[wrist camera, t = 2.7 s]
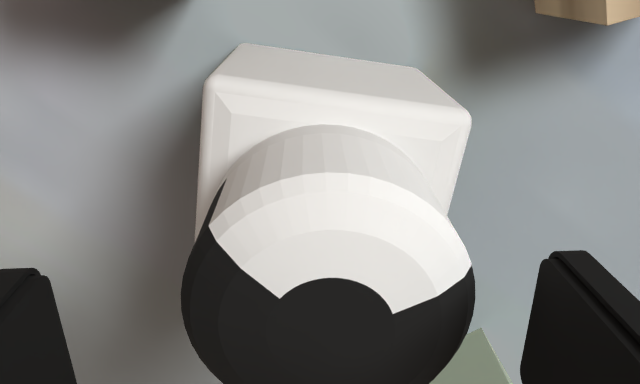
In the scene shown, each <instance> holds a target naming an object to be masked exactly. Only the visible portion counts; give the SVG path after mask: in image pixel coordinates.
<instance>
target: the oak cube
mask: <svg viewBox="0 0 640 384" xmlns="http://www.w3.org/2000/svg"><path fill="white" fill-rule="evenodd" d="M534 1H535V10H536V13H538V14H543V15H549V16H555V17H561V18H567V19H572V20H578V21H584V22H590V23H596V24H601V25H611V24H615V23H618V22H622V21H625V20H629V19H632V18H636V17H640V0H534Z"/></svg>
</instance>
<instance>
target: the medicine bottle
mask: <svg viewBox="0 0 640 384" xmlns="http://www.w3.org/2000/svg"><path fill="white" fill-rule="evenodd" d="M470 129H471V116H470V114H469V113H468V111H467V110H466V109H465V108H463V107H462V106H461V105H460V104H459V103H457V102H456V101H455V100H454V99H453V98H452V97H450V96H449V95H448V94H447V93H446V92H444V91H443V90H442V89H441V88H440V87H438V86H437V85H436V84H435V83H434V82H433V81H431V80H430V79H429V78H428V77H427V76H425V75H424V74H423V73H422V72H421V71H420V70H418V69H416V68H414V67H407V66H400V65H393V64H386V63H380V62H373V61H366V60H359V59H352V58H345V57H338V56H332V55H325V54H318V53H311V52H304V51H297V50H290V49H284V48H277V47H270V46H263V45H256V44H249V43H242V44H240V45H239V46H237V47H236V48H235V49H234V50H233V51H232V52H231V54H230V55H229V56H228V57H227V58H226V59H225V60H224V61H223V62H222V63H221V64H220V65H219V66H218V67H217V68H216V69H215V70H214V71H213V72H212V73H211V75H210V76H209V77H208V78H207V79H206V80H205V83H204V86H203V98H202V116H201V135H200V153H199V171H198V189H197V208H196V226H195V244H194V247H193V249H192V252H191V254H190V256H189V259H188V262H187V265H186V269H185V272H184V275H183V281H182V289H181V309H182V315H183V320H184V325H185V329H186V331H187V334H188V336H189V339H190V341H191V344H192V345H193V347H194V349H195V351H196V352H197V354H198V356H199V358H200V359H201V360H202V361H203V363H204V364H205V365H206V366H207V368H208V369H209V370H210V371H211V372H212V373H213V374H214V375H215V376H216V377H217V378H218V379H219V380H220V381H221V382H222V383H223V384H429V383H430V382H431V381H433V380H434V379H435V378H436V376H437V375H438V374H439V373H440V372H441V371H442V370H443V369H444V368H445V367H446V365H447V364H448V363H449V362H450V361H451V359H452V358H453V356H454V355H455V353H456V352H457V351H458V349H459V348H460V346H461V344H462V342H463V340H464V338H465V336H466V334H467V332H468V329H469V326H470V322H471V319H472V316H473V310H474V304H475V280H474V274H473V269H472V264H471V261H470V259H469V256H468V253H467V251H466V248H465V246H464V244H463V243H462V241H461V239H460V237H459V236H458V234H457V232H456V231H455V229H454V227H453V225H452V224H451V222H450V220H449V219H448V217H447V214H448V210H449V206H450V203H451V199H452V195H453V192H454V188H455V184H456V181H457V177H458V173H459V170H460V166H461V162H462V158H463V155H464V151H465V147H466V144H467V140H468V136H469V133H470Z"/></svg>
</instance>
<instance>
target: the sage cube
mask: <svg viewBox="0 0 640 384" xmlns="http://www.w3.org/2000/svg"><path fill="white" fill-rule="evenodd" d="M429 384H513V383H512V381H511V379H510V378H509V376H508V374H507V372H506V371H505V369H504V367H503V365H502V364H501V362H500V360H499V358H498V357H497V355H496V353H495V351H494V349H493V348H492V346H491V344H490V342H489V341H488V339H487V337H486V335H485V334H484V332H483V330H482V328H480V329H477V330H475V331H473V332H471V333H469V334H467V335H466V336H465V338H464V340H463V342H462V344H461V346H460V348H459V349H458V351H457V352H456V353H455V355H454V356H453V358H452V359H451V361H450V362H449V363H448V364H447V365H446V367H445V368H444V369H443V370H442V371H441V372H440V373H439V374H438V375H437V376H436V378H435V379H434V380H433V381H431V382H430V383H429Z"/></svg>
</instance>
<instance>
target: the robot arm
mask: <svg viewBox="0 0 640 384" xmlns="http://www.w3.org/2000/svg"><path fill="white" fill-rule="evenodd" d="M520 375H521V380H522V383H523V384H640V301H639V300H638V299H637V298H635V297H634V296H633V295H632V294H631V293H630V292H629V291H628V290H627V289H626V288H625V287H624V286H623V285H622V284H621V283H620V282H619V281H618V280H617V279H616V278H614V277H613V276H612V275H611V274H610V273H609V272H608V271H607V270H606V269H605V268H604V267H603V266H602V265H601V264H600V263H599V262H598V261H597V260H596V259H595V258H594V257H592V256H591V255H590V254H589V253H588V252H586V251H582V250H580V251H554V252H553V253H551V255H550V256H549V258H548V259H544V260H543V261H542V262H541V264H540V268H539V273H538V278H537V283H536V289H535V294H534V299H533V304H532V309H531V314H530V319H529V324H528V330H527V335H526V340H525V345H524V350H523V355H522V360H521V365H520ZM0 384H77V382H76V378H75V375H74V371H73V367H72V363H71V359H70V356H69V352H68V348H67V344H66V340H65V336H64V333H63V329H62V325H61V321H60V317H59V313H58V310H57V306H56V302H55V298H54V294H53V291H52V287H51V283H50V280H49V278H48V277H47V276H45V275H40V273H39V271H38V270H37V269H35V268H16V269H0Z"/></svg>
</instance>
